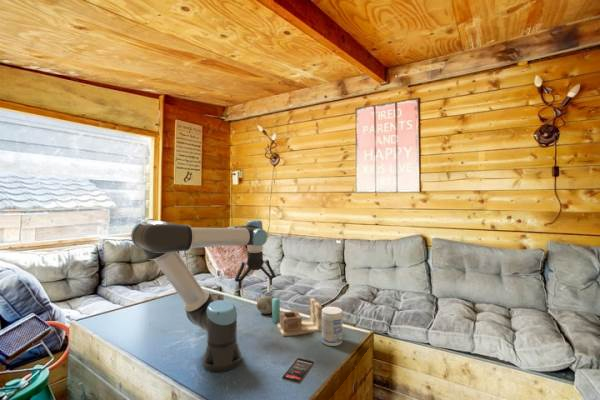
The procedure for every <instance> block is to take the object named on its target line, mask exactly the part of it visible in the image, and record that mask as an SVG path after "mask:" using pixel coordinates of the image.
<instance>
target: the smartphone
mask: <svg viewBox="0 0 600 400" xmlns="http://www.w3.org/2000/svg"><path fill="white" fill-rule="evenodd" d="M314 364H315V361H313V360H309V359H305V358H300V357H298V358H296V360H295V361H294V362H293V363H292V365H291V366H290V367H289V368H288V370H286V372H285V373H284V374H283V376H282V377H281V379H282V380H284V381H288V382H291V383H294V384H300V383H301V382H302V381H303V380H304V378H305V377H306V376H307V374H308V373H309V371H310V369H311V368H312V367H313V365H314Z"/></svg>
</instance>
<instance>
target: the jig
mask: <svg viewBox="0 0 600 400" xmlns="http://www.w3.org/2000/svg"><path fill="white" fill-rule="evenodd" d="M322 309H323V306H322V305H321V304H320V303H319V302H318V301H317V300H316V299H315V298H314V297H313V298H312V297H311V298H309V318H308V319H302V330H295V331H288V332H284V331H283V329H282V328H281V326H280V322H279V323H276V325H277V328H278V330H279V333H280V334H281V335H282V337H283V338H284V337H289V336H297V335H303V334H309V333H317V332H322Z"/></svg>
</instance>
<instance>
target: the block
mask: <svg viewBox="0 0 600 400" xmlns="http://www.w3.org/2000/svg"><path fill="white" fill-rule="evenodd" d="M302 320H303V319H302V315H300V314H299V312H298V311H297V310H291V311H284V312H283V311H282V312H280V322H279V323H280V326H281V328H282V329H283V331H284V332H288V331H295V330H302Z"/></svg>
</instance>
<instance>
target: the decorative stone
mask: <svg viewBox="0 0 600 400" xmlns="http://www.w3.org/2000/svg"><path fill="white" fill-rule="evenodd" d="M272 299H273V297H271V296H269V295H261V296H260V297H259V298H258V300H257V302H256V308H257V309H258V311H259V312H260V313H261V314H264V315H267V314H270V313H272Z"/></svg>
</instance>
